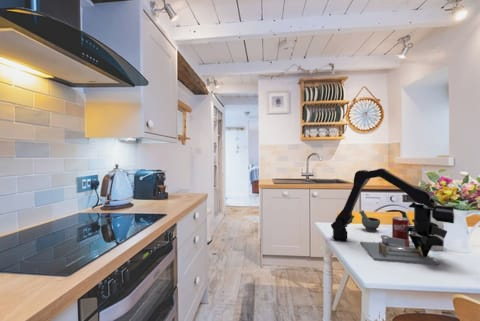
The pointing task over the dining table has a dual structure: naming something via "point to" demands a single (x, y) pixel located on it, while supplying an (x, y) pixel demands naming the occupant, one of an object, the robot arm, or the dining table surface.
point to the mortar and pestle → (369, 222)
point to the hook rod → (405, 250)
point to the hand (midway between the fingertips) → (422, 254)
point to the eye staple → (383, 249)
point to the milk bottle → (440, 225)
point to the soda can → (399, 228)
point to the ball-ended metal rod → (394, 241)
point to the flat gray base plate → (396, 254)
